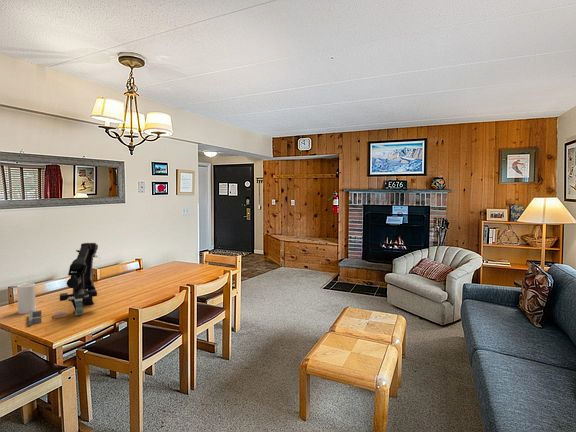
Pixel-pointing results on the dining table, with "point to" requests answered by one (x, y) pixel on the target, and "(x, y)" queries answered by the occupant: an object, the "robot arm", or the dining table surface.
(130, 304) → the dining table surface
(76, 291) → the robot arm
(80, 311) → the scraper
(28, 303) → the cup
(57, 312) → the tile
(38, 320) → the stop bay
